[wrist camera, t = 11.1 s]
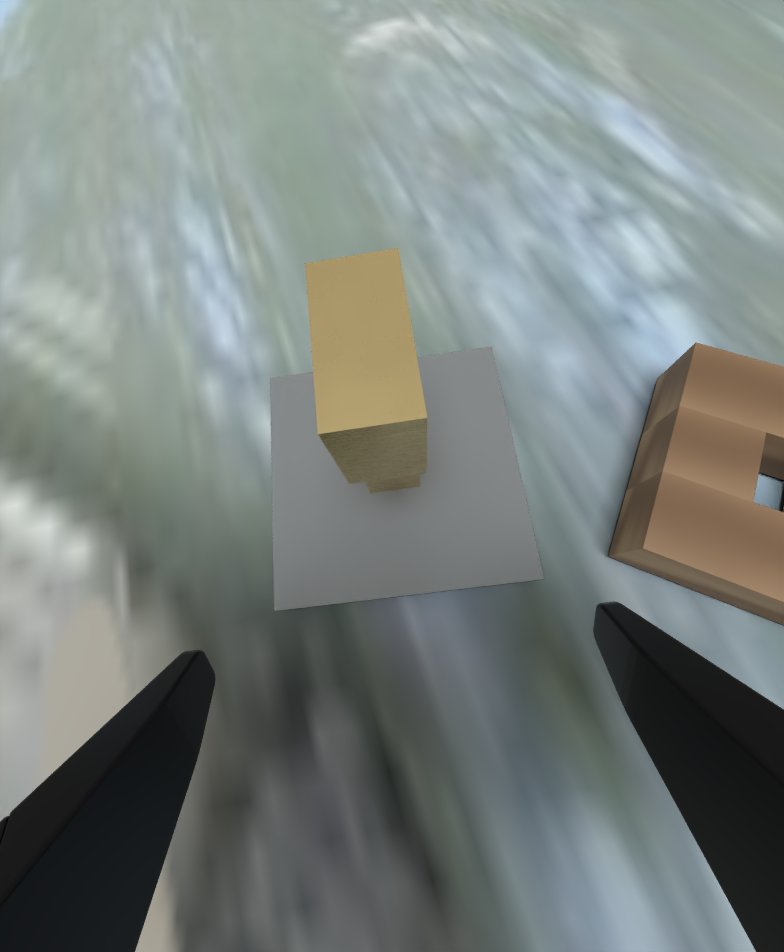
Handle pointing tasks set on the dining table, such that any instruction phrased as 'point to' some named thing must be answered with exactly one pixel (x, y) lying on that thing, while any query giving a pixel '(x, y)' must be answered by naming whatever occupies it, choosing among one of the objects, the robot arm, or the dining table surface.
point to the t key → (367, 370)
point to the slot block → (710, 482)
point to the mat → (401, 498)
